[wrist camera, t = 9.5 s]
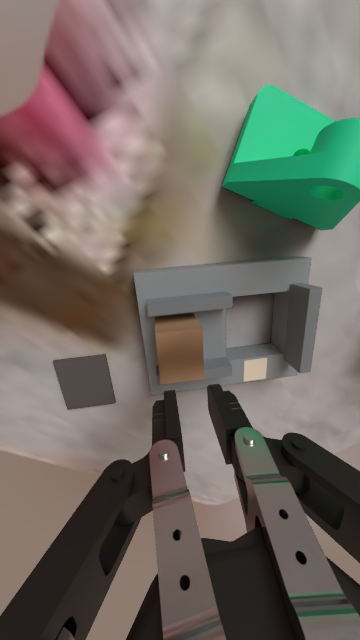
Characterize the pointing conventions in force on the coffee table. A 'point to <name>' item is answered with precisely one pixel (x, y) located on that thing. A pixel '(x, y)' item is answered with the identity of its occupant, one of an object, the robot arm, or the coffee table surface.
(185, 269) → the rail board
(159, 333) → the block
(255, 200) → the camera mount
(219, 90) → the coffee table surface
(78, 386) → the mat
